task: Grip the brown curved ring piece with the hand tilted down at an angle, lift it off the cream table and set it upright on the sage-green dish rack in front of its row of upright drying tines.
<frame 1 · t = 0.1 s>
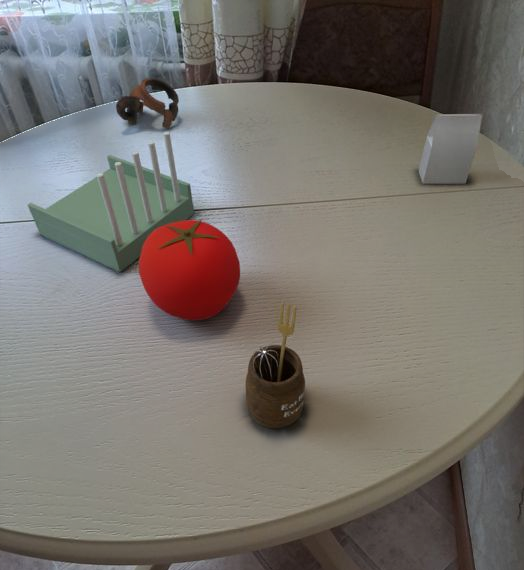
tomato: (195, 302, 63), on the table
dish rack: (118, 223, 74), on the table
utensil holder: (275, 406, 53), on the table
brown curved ring piece: (149, 124, 95), on the table
grey block: (441, 178, 81), on the table
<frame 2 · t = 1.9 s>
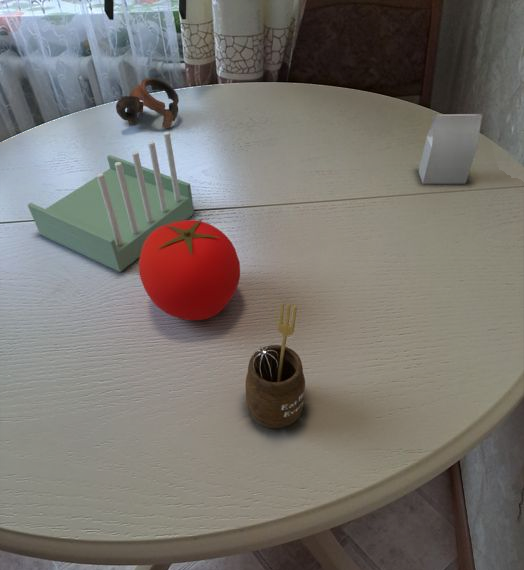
hand: (145, 15, 91), 15 cm above the table, tool tilted 45°, fingers open, 13 cm apart
nothing on the table moved.
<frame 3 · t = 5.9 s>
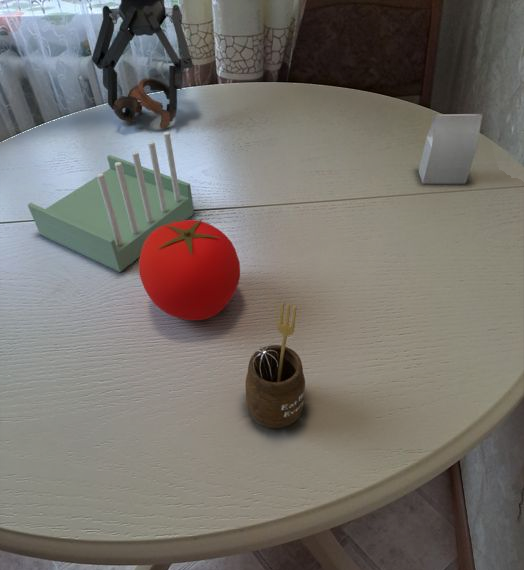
hand: (142, 107, 90), 4 cm above the table, tool tilted 45°, fingers closed on brown curved ring piece, 10 cm apart
brown curved ring piece: (147, 124, 95), on the table, touching gripper
everything else where it was.
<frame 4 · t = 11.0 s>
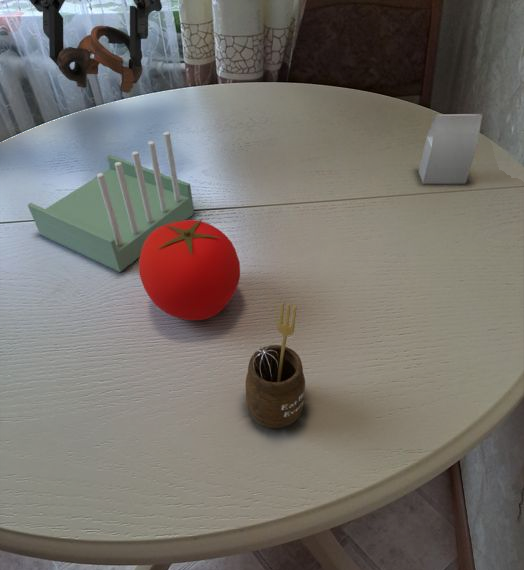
hand: (96, 62, 68), 18 cm above the table, tool tilted 45°, fingers closed on brown curved ring piece, 10 cm apart
brown curved ring piece: (104, 87, 74), point 13 cm above the table, touching gripper
everything else where it was.
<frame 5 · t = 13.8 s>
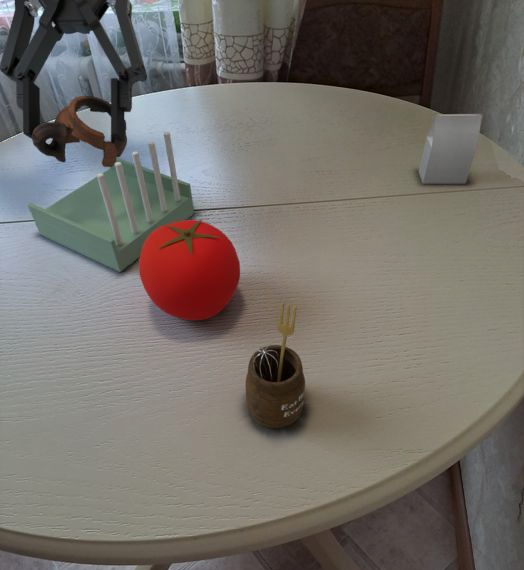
hand: (74, 137, 62), 14 cm above the table, tool tilted 45°, fingers closed on brown curved ring piece, 10 cm apart
brown curved ring piece: (86, 159, 68), point 10 cm above the table, touching gripper
everything else where it was.
when the fingers open (7 cm above the table, at t = 16.2 s): brown curved ring piece stays where it is, resting on dish rack.
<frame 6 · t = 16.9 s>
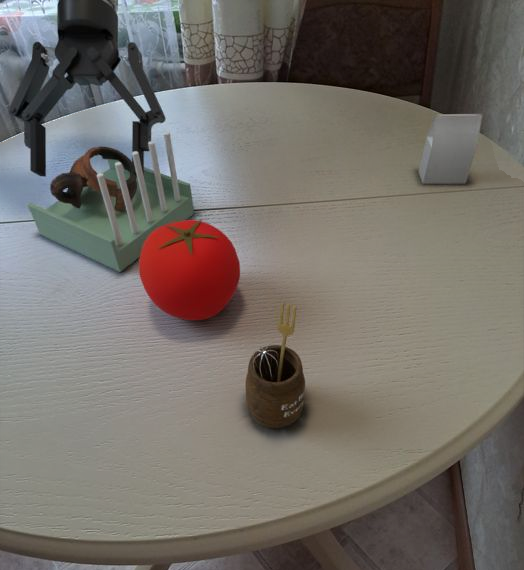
hand: (87, 174, 67), 9 cm above the table, tool tilted 45°, fingers open, 13 cm apart
brown curved ring piece: (99, 203, 73), point 3 cm above the table, touching dish rack
everything else where it was.
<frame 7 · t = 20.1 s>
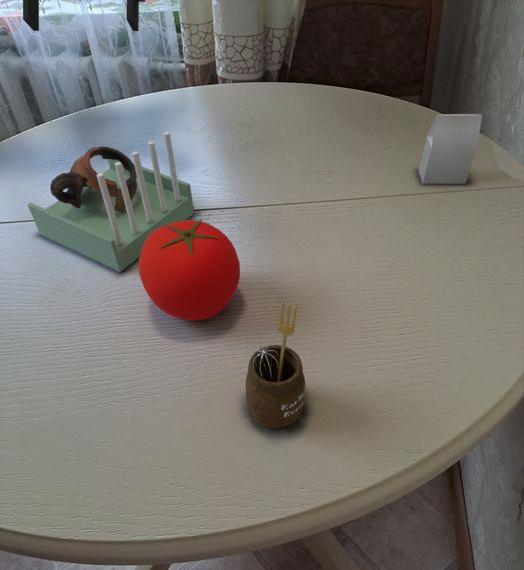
hand: (81, 25, 65), 22 cm above the table, tool tilted 45°, fingers open, 13 cm apart
nothing on the table moved.
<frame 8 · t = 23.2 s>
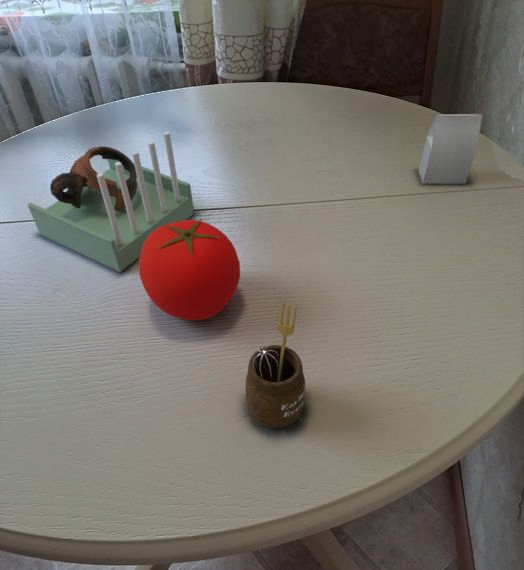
nothing on the table moved.
at the end: brown curved ring piece inside the target area on the dish rack (1.1 cm from its centre), point 2.8 cm above the dish rack's base; brown curved ring piece tilted 0°; the gripper is holding nothing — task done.
